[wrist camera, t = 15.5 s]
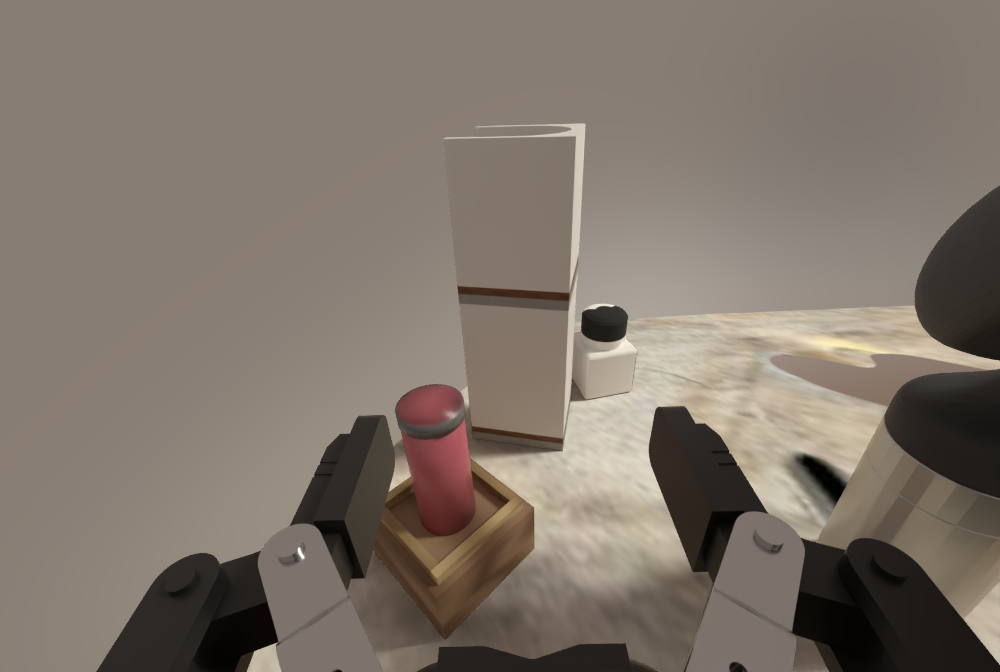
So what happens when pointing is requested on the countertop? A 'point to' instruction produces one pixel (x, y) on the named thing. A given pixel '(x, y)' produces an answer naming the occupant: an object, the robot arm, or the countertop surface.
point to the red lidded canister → (438, 456)
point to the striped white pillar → (517, 274)
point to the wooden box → (455, 549)
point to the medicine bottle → (603, 353)
